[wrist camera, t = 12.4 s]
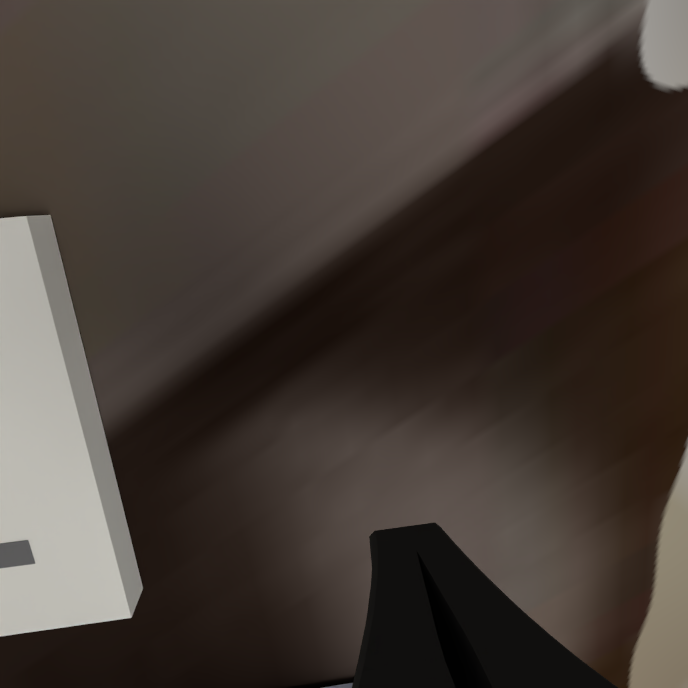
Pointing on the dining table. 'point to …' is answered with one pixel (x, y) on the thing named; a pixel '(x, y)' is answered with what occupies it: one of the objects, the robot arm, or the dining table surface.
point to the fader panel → (53, 454)
